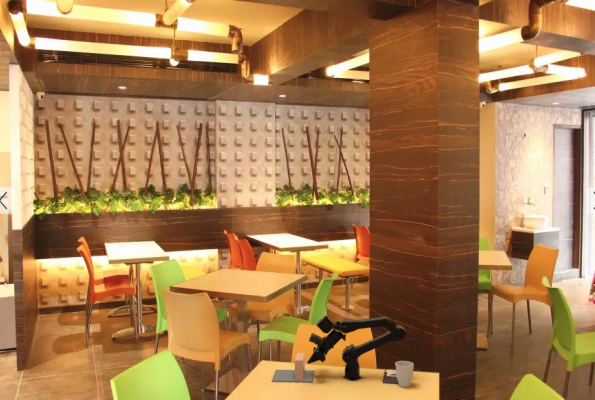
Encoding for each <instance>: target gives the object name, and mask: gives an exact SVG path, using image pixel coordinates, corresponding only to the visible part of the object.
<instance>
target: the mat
mask: <svg viewBox="0 0 595 400" xmlns="http://www.w3.org/2000/svg"><path fill="white" fill-rule="evenodd" d="M313 376H315V369H314V370H313V369H305V373H304V377H303V380H295V369H275V370H274V373H273V375H272V379H271V383H300V382H302V383H306V384H309V383H310V384H311V383H312V384H313V381H314V377H313Z"/></svg>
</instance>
